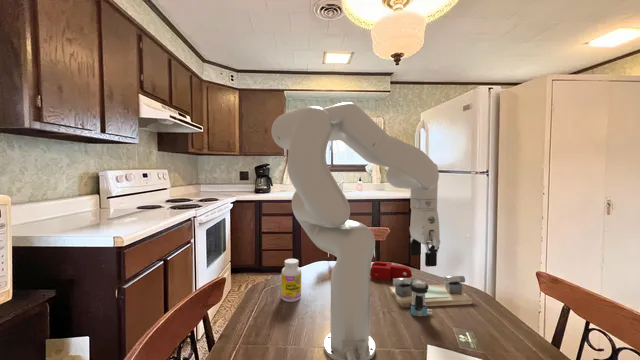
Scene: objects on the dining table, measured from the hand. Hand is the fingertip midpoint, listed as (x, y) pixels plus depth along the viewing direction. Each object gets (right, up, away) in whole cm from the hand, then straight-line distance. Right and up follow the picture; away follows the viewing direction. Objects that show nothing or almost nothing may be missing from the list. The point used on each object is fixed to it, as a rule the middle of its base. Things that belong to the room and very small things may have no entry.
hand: (422, 260), depth 86 cm
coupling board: (+6, -16, +12) cm, 21 cm away
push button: (0, -17, +1) cm, 17 cm away
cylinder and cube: (+6, -15, +12) cm, 20 cm away
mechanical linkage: (-3, -16, +29) cm, 33 cm away
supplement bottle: (-41, -16, +11) cm, 45 cm away
